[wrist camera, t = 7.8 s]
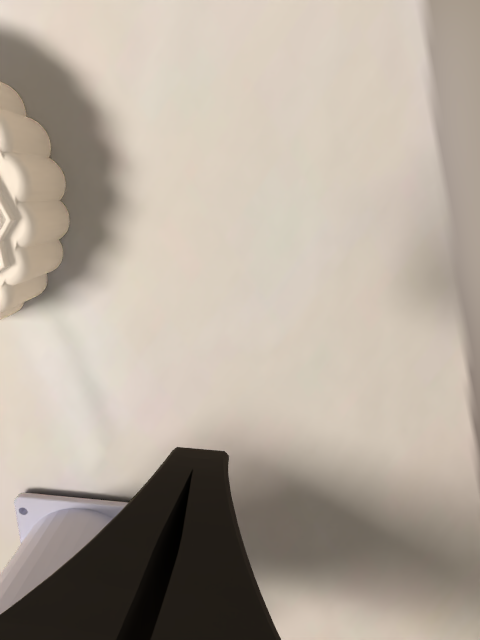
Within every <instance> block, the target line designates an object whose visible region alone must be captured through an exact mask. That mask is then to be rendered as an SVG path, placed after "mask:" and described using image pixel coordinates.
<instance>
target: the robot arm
mask: <svg viewBox="0 0 480 640" xmlns="http://www.w3.org/2000/svg"><path fill="white" fill-rule="evenodd" d="M228 462H229V455H228V454H227V453H226V452H225V451H215V450H203V449H192V448H181V447H177V448H175V449H174V450H173V451H172V452H171V453H170V455H169V456H168V457H167V459H166V460H165V461H164V462H163V464H162V465H161V466H160V467H159V469H158V470H157V471H156V472H155V473H154V475H153V476H152V477H151V478H150V479H149V480H148V482H147V483H146V484H145V485H144V486H143V487H142V488H141V490H140V491H139V492H138V493H137V494H136V495H135V496H134V497H133V498H132V499H131V501H130V502H129V503H128V502H117V501H107V500H96V499H86V498H75V497H65V496H55V495H44V494H34V493H20V494H19V495H18V496H17V497H16V498H15V500H14V505H15V511H16V517H17V523H18V529H19V535H20V541H21V545H20V546H19V547H18V549H17V550H16V552H15V553H14V555H13V556H12V557H11V559H10V560H9V562H8V563H7V565H6V566H5V567H4V569H3V570H2V572H1V573H0V640H281V638H280V636H279V634H278V632H277V630H276V628H275V626H274V624H273V621H272V619H271V616H270V614H269V612H268V609H267V607H266V605H265V602H264V600H263V597H262V595H261V592H260V590H259V587H258V585H257V582H256V579H255V577H254V574H253V571H252V568H251V566H250V563H249V560H248V557H247V554H246V550H245V547H244V544H243V541H242V537H241V534H240V530H239V527H238V523H237V519H236V515H235V511H234V506H233V502H232V497H231V492H230V485H229V477H228Z"/></svg>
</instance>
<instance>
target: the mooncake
mask: <svg viewBox="0 0 480 640" xmlns="http://www.w3.org/2000/svg"><path fill="white" fill-rule="evenodd" d="M50 153H51V144H50V139H49V136H48V134H47V132H46V131H45V129H44V128H43V127H42V126H41V125H40V124H39V123H38V122H37V121H35V120H33V119H31V118H29V117H26V110H25V106H24V103H23V101H22V99H21V97H20V96H19V94H18V93H17V92H16V91H15V90H14V89H13V88H11V87H10V86H8V85H7V84H4V83H2V82H0V320H1V319H3V318H6V317H8V316H10V315H12V314H14V313H16V312H17V311H19V310H20V309H21V307H22V306H23V304H24V302H25V301H28V300H30V299H32V298H34V297H36V296H38V295H40V294H41V293H42V292H43V291H44V290H45V288H46V286H47V280H48V278H47V273H49V272H51V271H53V270H55V269H56V268H57V267H58V266H59V265H60V263H61V261H62V258H63V248H62V245H61V243H60V241H59V239H60V238H62V237H63V236H64V235H65V234H66V232H67V231H68V228H69V223H70V218H69V214H68V211H67V209H66V207H65V205H64V204H63V203H62V202H61V201H60V199H61V198H62V197H63V195H64V192H65V188H66V181H65V177H64V174H63V172H62V170H61V168H60V167H59V166H58V165H57V163H56V162H54V161H53V160H52V159H50V158H49V157H50Z"/></svg>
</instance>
